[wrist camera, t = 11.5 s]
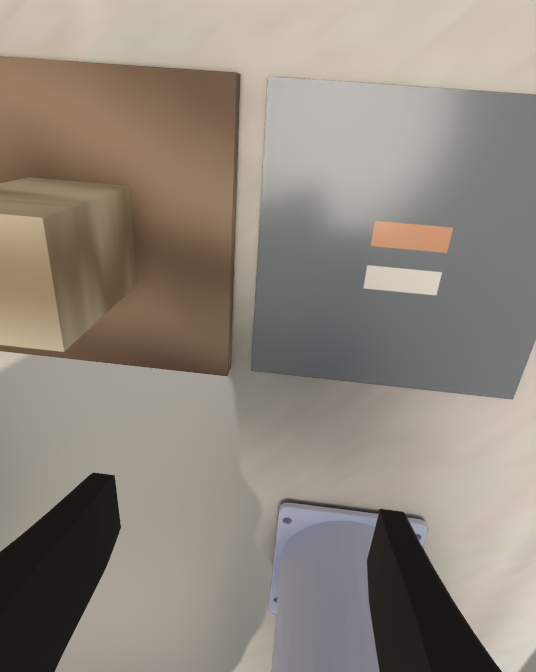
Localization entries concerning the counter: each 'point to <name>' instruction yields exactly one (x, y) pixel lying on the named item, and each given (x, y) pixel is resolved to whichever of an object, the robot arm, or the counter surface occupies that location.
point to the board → (141, 194)
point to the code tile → (397, 236)
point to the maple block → (61, 259)
